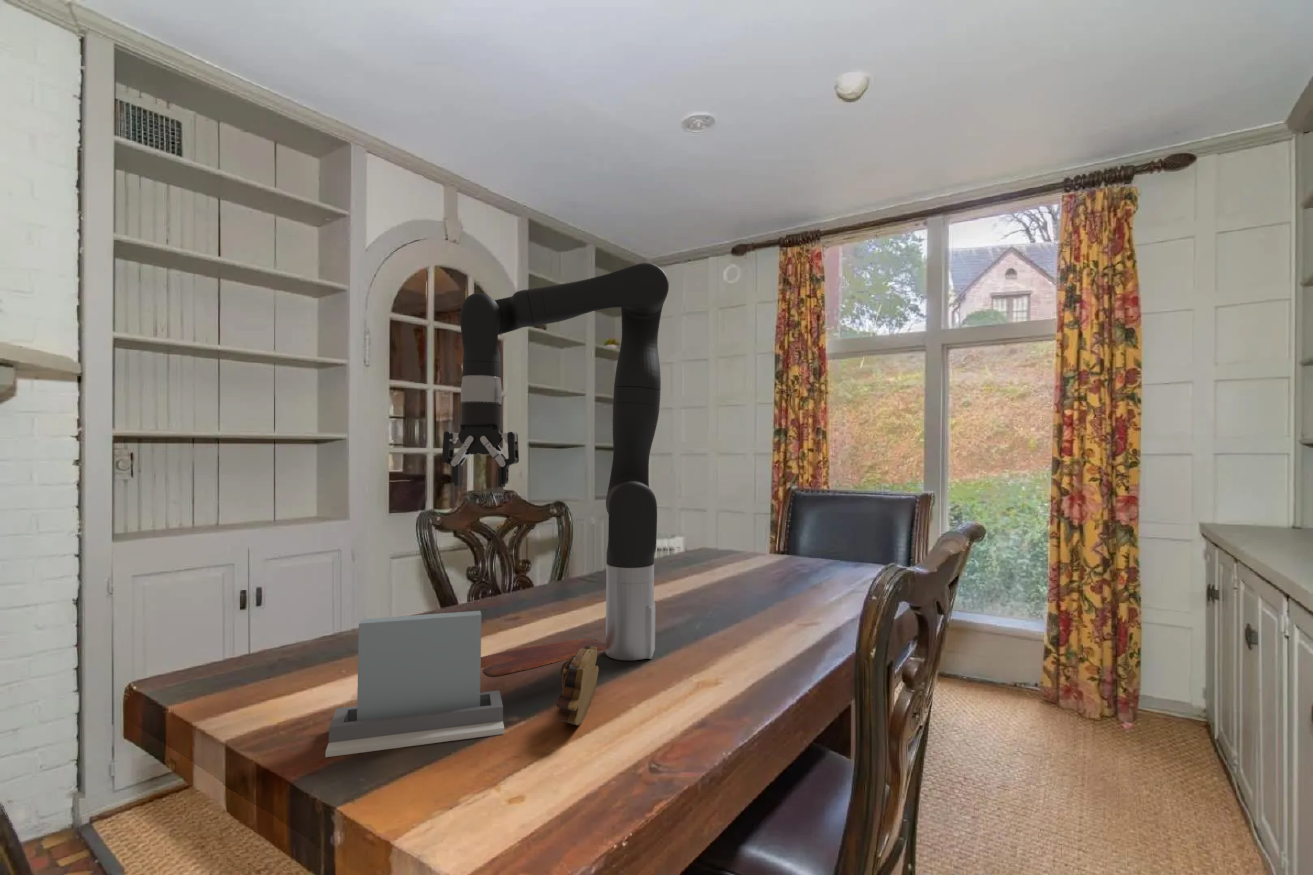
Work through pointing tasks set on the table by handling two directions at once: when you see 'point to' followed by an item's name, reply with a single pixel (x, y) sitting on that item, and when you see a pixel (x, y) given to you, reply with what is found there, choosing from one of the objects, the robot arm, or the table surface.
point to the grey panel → (418, 664)
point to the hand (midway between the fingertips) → (480, 486)
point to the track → (414, 727)
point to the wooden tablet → (534, 656)
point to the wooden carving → (577, 685)
